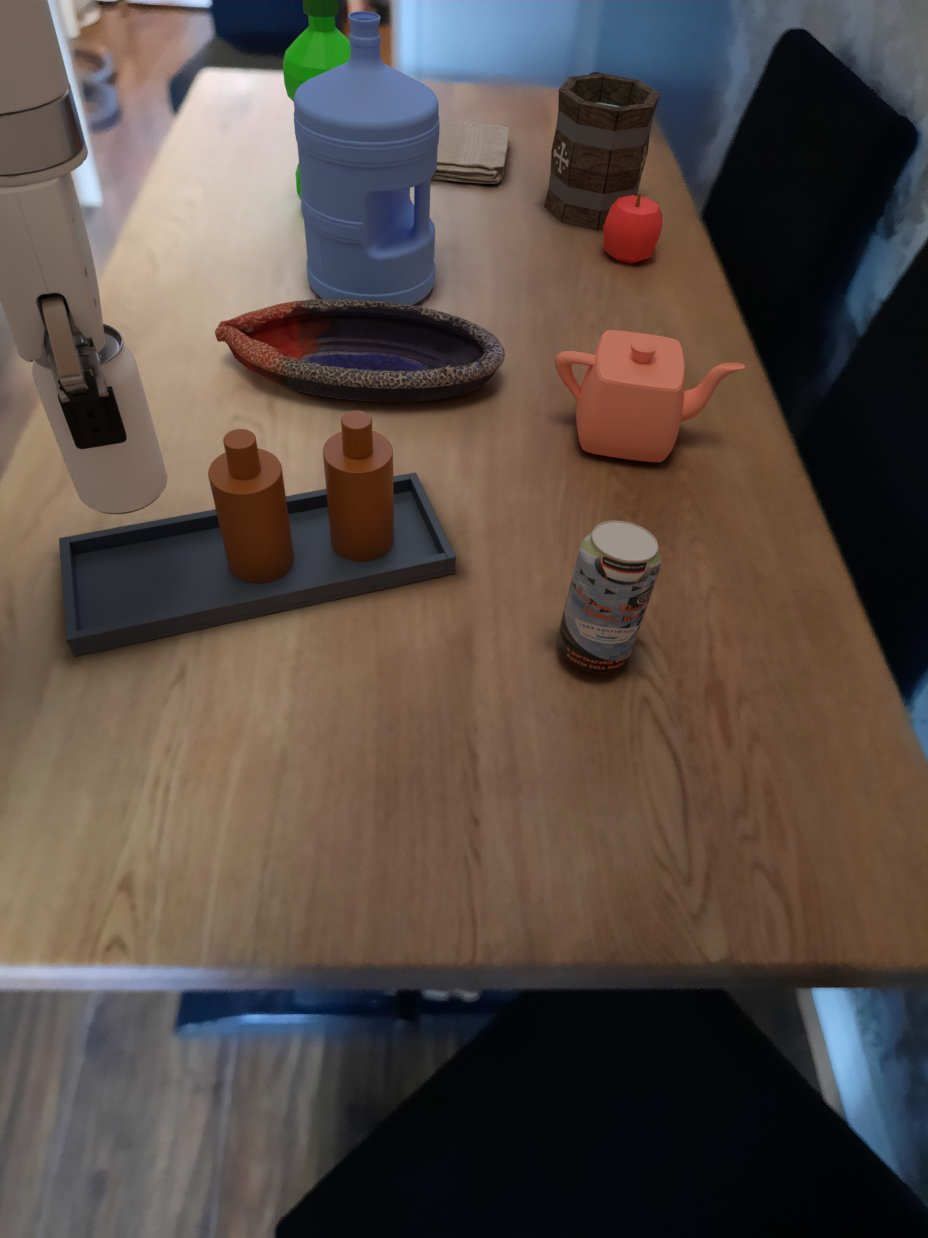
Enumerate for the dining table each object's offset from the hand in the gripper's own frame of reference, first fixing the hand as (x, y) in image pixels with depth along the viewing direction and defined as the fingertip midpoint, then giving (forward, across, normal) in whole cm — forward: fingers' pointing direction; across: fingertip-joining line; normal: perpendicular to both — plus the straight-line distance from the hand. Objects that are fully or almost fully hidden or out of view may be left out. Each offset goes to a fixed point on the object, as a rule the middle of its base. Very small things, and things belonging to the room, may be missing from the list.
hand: (97, 409), depth 58 cm
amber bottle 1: (+17, 0, +9) cm, 20 cm away
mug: (+18, -60, +68) cm, 93 cm away
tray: (+18, 0, +9) cm, 20 cm away
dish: (+18, -26, +25) cm, 40 cm away
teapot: (+18, -8, +49) cm, 53 cm away
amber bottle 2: (+17, 0, +18) cm, 25 cm away
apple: (+18, -43, +66) cm, 81 cm away
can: (+7, 0, 0) cm, 7 cm away
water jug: (+18, -44, +31) cm, 57 cm away
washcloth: (+18, -76, +55) cm, 96 cm away
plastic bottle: (+18, -64, +31) cm, 73 cm away
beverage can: (+18, +17, +33) cm, 41 cm away
